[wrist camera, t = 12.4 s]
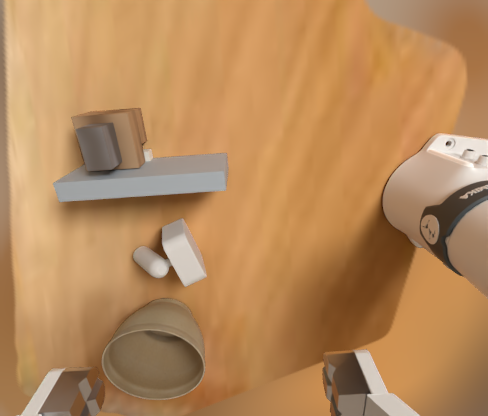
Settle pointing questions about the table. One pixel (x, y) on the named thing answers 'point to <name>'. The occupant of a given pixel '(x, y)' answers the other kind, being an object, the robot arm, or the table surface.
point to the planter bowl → (156, 352)
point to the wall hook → (174, 255)
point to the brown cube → (111, 139)
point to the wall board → (147, 178)
